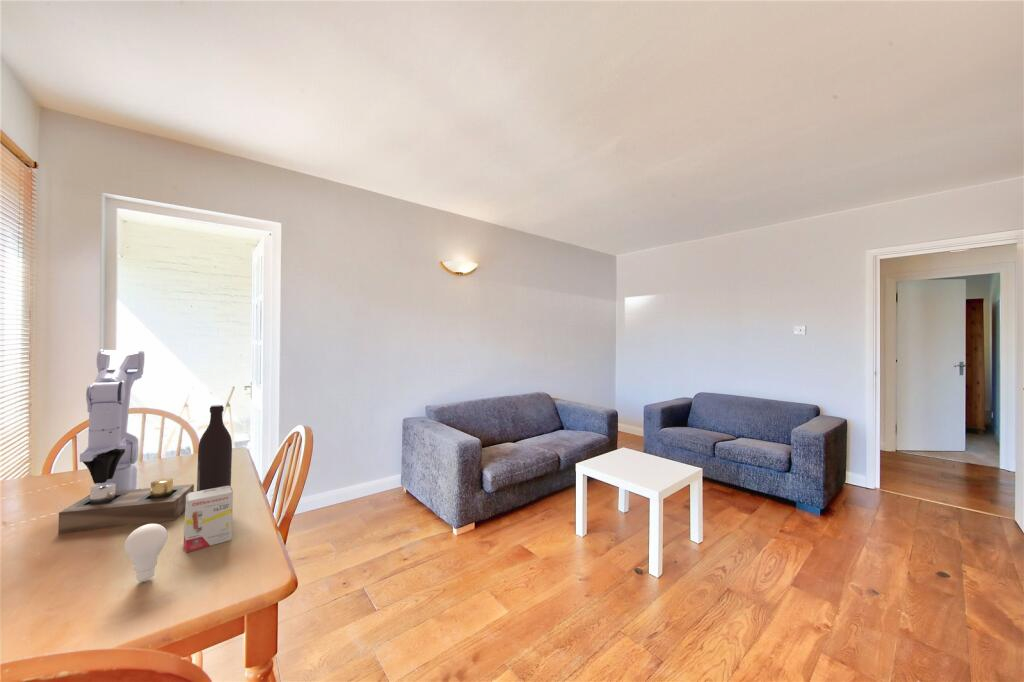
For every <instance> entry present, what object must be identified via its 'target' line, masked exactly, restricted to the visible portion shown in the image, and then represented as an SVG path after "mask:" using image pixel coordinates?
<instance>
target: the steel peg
mask: <svg viewBox="0 0 1024 682" xmlns="http://www.w3.org/2000/svg"><path fill="white" fill-rule="evenodd" d="M115 488H116V484H115V483H106V484H100V485H96V486H95V485H94V486H92V487H90V489H89V490H90V492H89V495H90V505H91V504H101V503H110V502H112V501H113V500H115Z"/></svg>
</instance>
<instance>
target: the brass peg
mask: <svg viewBox="0 0 1024 682" xmlns="http://www.w3.org/2000/svg"><path fill="white" fill-rule="evenodd" d="M173 486H174V479H173V478H160V479H157V480H153V481H151V483H150V488H151V495H150V499H154V498H164V497H170V496H171V495H172V494H173Z"/></svg>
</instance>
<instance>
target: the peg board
mask: <svg viewBox="0 0 1024 682" xmlns="http://www.w3.org/2000/svg"><path fill="white" fill-rule="evenodd" d="M194 487H195V484H193V483H192V484H191V483H190V484H181V485H173V494H172V495H171V496H170V497H164V498H154V499H150V495H151V487H147V488H140V489H133V490H121V491H115V500H113V501H112V502H110V503H101V504H91V505H90V494H89V495H87V496H85V497H83V498H81V499H80V500H78V501H76V502H75V503H73V504H71V505H69V506H68V507H66V508H65V509H63V510H61V511H59V512H58V525H57V526H58V527H57V530H58V531H57V532H58V533H57V534H65V533H74V532H84V531H90V530H92V531H93V530H99V529H100V530H101V529H108V528H115V527H116V528H117V527H118V528H120V527H127V526H135V525H136V526H137V525H146V524H155V523H161V522H169V521H170V522H171V521H175V520H176V519H177V518H178V517H179V516H180V515H181V514H182V513H183V512H185V506H186V495H187V494H188V493H191V492H195V488H194Z"/></svg>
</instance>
